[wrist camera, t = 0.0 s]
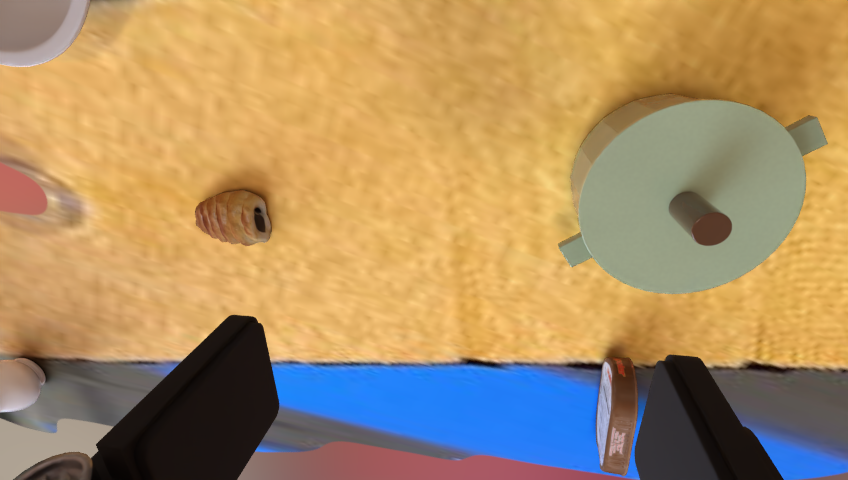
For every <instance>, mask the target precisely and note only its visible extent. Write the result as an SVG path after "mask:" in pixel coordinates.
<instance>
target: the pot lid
mask: <svg viewBox="0 0 848 480" xmlns="http://www.w3.org/2000/svg"><path fill="white" fill-rule="evenodd" d="M805 190H806V172H805V165H804V161H803V158H802V155H801V152H800V149H799V147H798V146H797V144H796V142H795V140H794V138H793V137H792V136H791V135H790V133H789V132H788V131H787V130H786V128H785V127H783V126H782V125H781V124H780V123H779V122H778V121H777V120H775V119H774V118H773V117H771V116H769V115H768V114H766V113H765V112H763V111H761V110H758V109H756V108H754V107H751V106H749V105H745V104H741V103H737V102H733V101H728V100H719V99H697V100H690V101H683V102H679V103H675V104H671V105H667V106H665V107H662V108H659V109H657V110H654V111H652V112H650V113H648V114H646V115H644V116H642V117H640V118H638V119H637V120H635V121H633V122H632V123H630V124H629V125H627V126H626V127H624V128H623V129H622V130H621V131H620V132H619V133H617V134H616V135H615V136H614V137H613V138H612V139H611V140H610V141H609V142H608V143H607V144H606V145H605V146H604V147H603V148H602V150H601V151H600V152H599V154H598V155H597V156H596V158H595V159H594V161H593V162H592V164H591V166H590V167H589V169H588V171H587V173H586V176H585V178H584V181H583V183H582V187H581V190H580V194H579V201H578V222H579V228H580V232H581V235H582V238H583V241H584V243H585V245H586V247H587V249H588V251H589V253H590V254H591V256H592V257H593V258H594V260H595V261H596V262H597V263H598V264H599V265H600V266H601V267H602V268H603V269H604V270H605V271H606V272H607V273H609V274H610V275H611V276H613V277H614V278H616V279H618V280H619V281H621V282H623V283H625V284H627V285H630V286H632V287H634V288H638V289H641V290H645V291H649V292H655V293H665V294H682V293H692V292H698V291H703V290H707V289H711V288H714V287H717V286H720V285H723V284H726V283H728V282H730V281H732V280H735V279H737V278H739V277H741V276H742V275H744V274H746V273H747V272H749V271H751V270H752V269H754V268H755V267H756V266H758V265H759V264H761V263H762V262H763V261H764V260H766V259H767V258H768V257H769V256H770V255H771V254H772V253H773V252H774V251H775V250H776V249H777V248H778V247H779V246H780V244H781V243H782V242H783V241H784V240H785V238H786V237H787V235H788V234H789V232H790V231H791V229H792V228H793V226H794V224H795V222H796V220H797V218H798V216H799V213H800V211H801V208H802V205H803V201H804V196H805Z"/></svg>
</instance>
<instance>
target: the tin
mask: <svg viewBox="0 0 848 480" xmlns="http://www.w3.org/2000/svg"><path fill="white" fill-rule="evenodd" d="M637 414H638V389H637V380H636V374H635V369H634V365H633V363H632V361H631V359H630V358H618V357H607V358H606V359H605V360H604V362H603V366H602V373H601V380H600V387H599V394H598V403H597V412H596V442H597V446H598V451H599V458H600V469H601V470H602V471H604V472H608V473H614V474H620V475H622V476H625V475H626V474H627V471H628V466H629V461H630V455H631V450H632V444H633V438H634V433H635V428H636V422H637Z"/></svg>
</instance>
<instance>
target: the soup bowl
mask: <svg viewBox="0 0 848 480" xmlns="http://www.w3.org/2000/svg"><path fill="white" fill-rule="evenodd" d="M89 5H90V0H0V64H2V65H7V66H15V67H28V66H35V65H40V64H43V63H45V62H48V61H50V60H52V59H54V58H56V57H58V56H59V55H60V54H62V53H63V52H64V51H65V50H66V49H67V48H68V47H69V46H70V45H71V44H72V43H73V42H74V40H75V39H76V37H77V36H78V34H79V32H80V30H81V29H82V27H83V24H84V21H85V19H86V16H87V13H88V9H89Z"/></svg>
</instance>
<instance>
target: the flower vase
mask: <svg viewBox="0 0 848 480" xmlns="http://www.w3.org/2000/svg"><path fill="white" fill-rule="evenodd" d="M45 381H46V377H45V374H44V372H43V370H42V369H41V368H40V367H39V366H38V365H37V364H36V363H34V362H33V361H31V360H29V359H26V358H17V359H14V360H0V412H13V411H18V410H22V409H25V408H27V407H29V406H31V405H32V404H33V403H35V402H36V401H37V399H38V398H39V395H40V393H41V386H42V385H43V384H44V383H45Z"/></svg>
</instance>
